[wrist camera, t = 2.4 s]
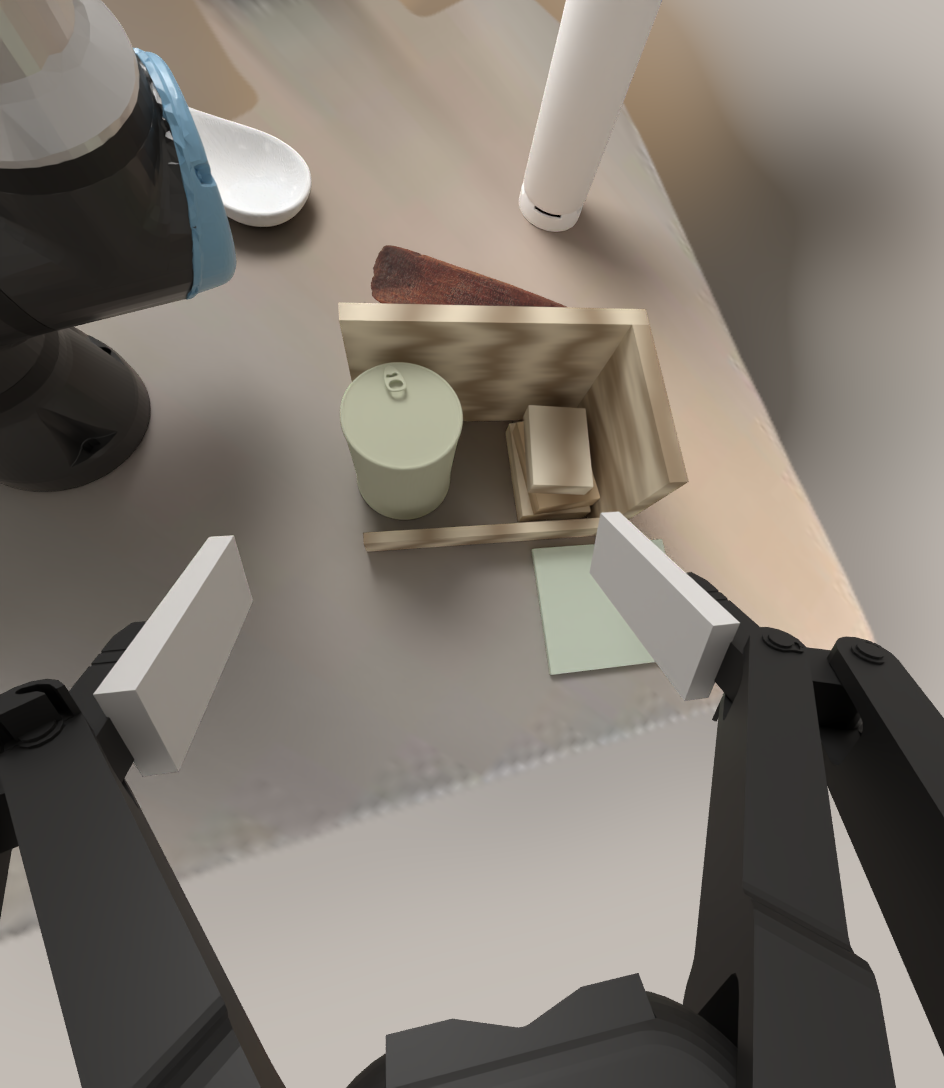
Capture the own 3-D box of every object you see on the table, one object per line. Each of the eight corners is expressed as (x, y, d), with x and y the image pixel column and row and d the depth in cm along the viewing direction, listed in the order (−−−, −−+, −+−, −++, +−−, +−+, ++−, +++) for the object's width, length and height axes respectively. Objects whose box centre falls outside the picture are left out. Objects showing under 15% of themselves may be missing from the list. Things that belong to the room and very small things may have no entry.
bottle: (590, 222, 56) (759, -183, 29) (539, 238, 54) (668, -180, 27) (558, 177, 57) (691, -252, 30) (507, 191, 55) (600, -253, 28)
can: (435, 427, 45) (444, 347, 33) (461, 507, 43) (480, 452, 32) (347, 445, 43) (324, 367, 32) (370, 530, 41) (355, 481, 30)
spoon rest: (328, 184, 52) (316, 111, 45) (300, 259, 48) (282, 192, 41) (123, 127, 50) (76, 41, 43) (78, 200, 46) (20, 120, 39)
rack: (366, 551, 41) (346, 498, 27) (359, 410, 44) (338, 302, 31) (604, 535, 44) (688, 481, 31) (579, 406, 48) (645, 309, 35)
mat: (549, 674, 40) (551, 674, 39) (531, 550, 43) (532, 548, 42) (685, 657, 42) (688, 657, 42) (659, 540, 45) (662, 539, 45)
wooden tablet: (352, 291, 47) (387, 219, 49) (355, 305, 49) (389, 235, 51) (575, 384, 48) (602, 310, 50) (569, 393, 50) (595, 322, 52)
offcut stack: (517, 521, 43) (534, 501, 38) (505, 433, 46) (518, 400, 40) (585, 517, 45) (611, 496, 39) (569, 431, 47) (591, 399, 41)
